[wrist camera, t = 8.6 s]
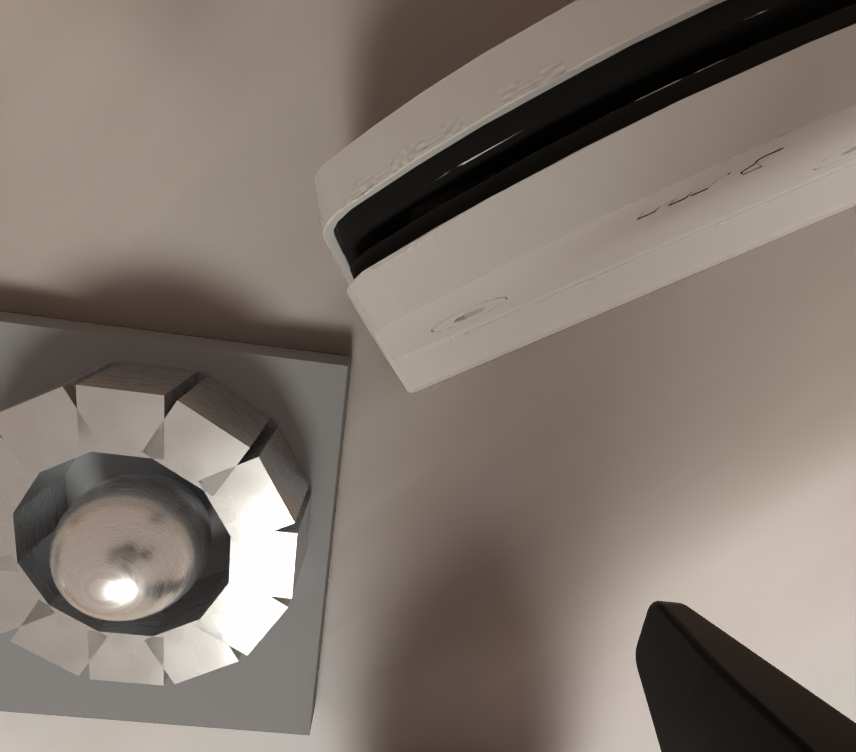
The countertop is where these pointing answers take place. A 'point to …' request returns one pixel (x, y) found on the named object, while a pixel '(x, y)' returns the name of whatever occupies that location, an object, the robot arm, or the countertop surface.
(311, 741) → the countertop surface
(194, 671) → the crimped metal cup
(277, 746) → the countertop surface
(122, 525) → the steel ball
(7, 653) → the mat
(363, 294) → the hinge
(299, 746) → the countertop surface
